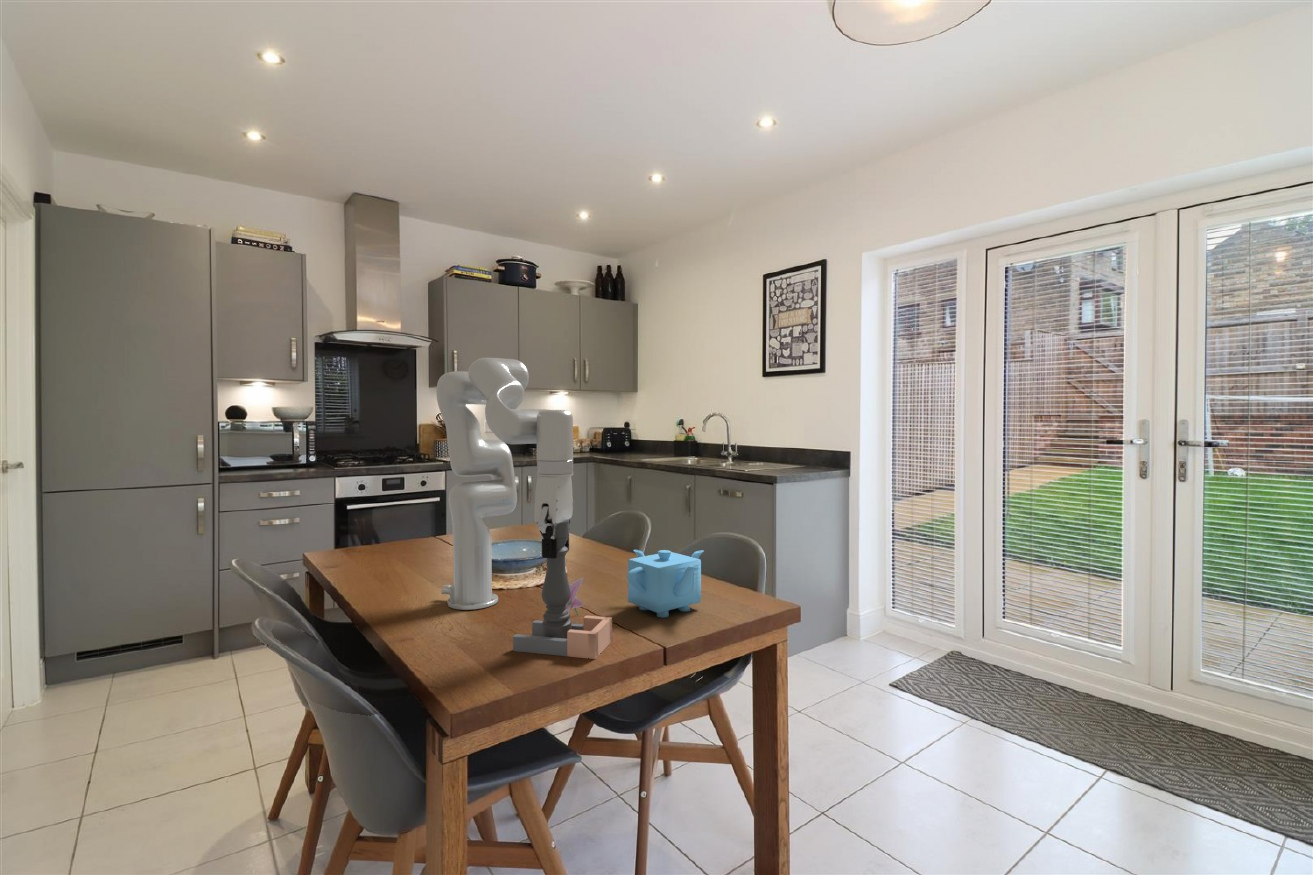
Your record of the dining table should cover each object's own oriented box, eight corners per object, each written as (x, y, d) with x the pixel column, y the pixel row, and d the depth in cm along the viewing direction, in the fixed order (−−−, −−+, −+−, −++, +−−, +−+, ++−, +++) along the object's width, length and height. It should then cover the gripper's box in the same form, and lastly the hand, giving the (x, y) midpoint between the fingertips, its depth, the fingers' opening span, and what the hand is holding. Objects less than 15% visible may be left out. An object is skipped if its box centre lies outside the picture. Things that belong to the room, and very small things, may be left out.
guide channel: (513, 650, 126) (512, 626, 126) (535, 633, 136) (535, 611, 136) (595, 659, 122) (595, 634, 122) (612, 640, 132) (612, 617, 132)
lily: (544, 615, 152) (531, 587, 148) (587, 593, 155) (575, 564, 151) (558, 645, 142) (544, 616, 137) (603, 621, 145) (591, 591, 141)
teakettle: (623, 620, 145) (623, 558, 145) (633, 596, 164) (633, 542, 164) (703, 622, 144) (703, 560, 143) (703, 598, 162) (703, 543, 162)
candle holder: (543, 632, 132) (542, 518, 131) (572, 632, 133) (571, 517, 132) (540, 643, 126) (538, 523, 125) (570, 642, 127) (569, 523, 126)
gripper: (555, 465, 137) (555, 545, 138) (519, 472, 121) (520, 562, 121) (586, 465, 136) (587, 547, 136) (555, 472, 119) (555, 565, 120)
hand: (555, 553), depth 129 cm, fingers closed on candle holder, 5 cm apart
